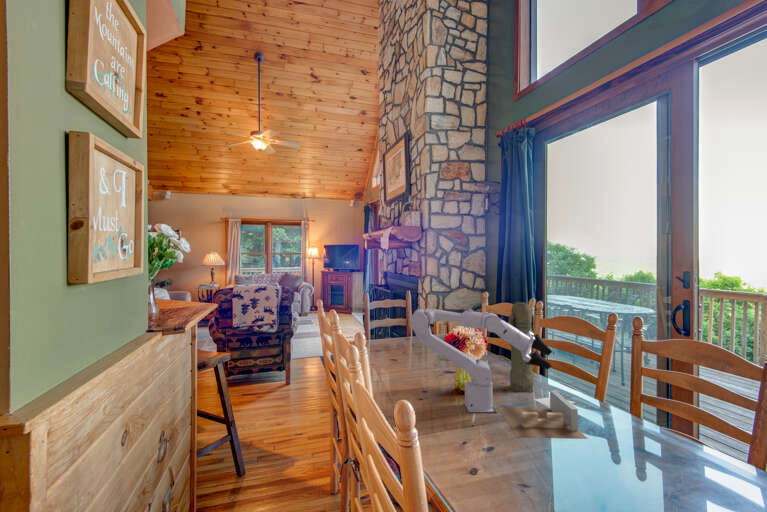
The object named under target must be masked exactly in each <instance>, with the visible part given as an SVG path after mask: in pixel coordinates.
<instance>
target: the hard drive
mask: <svg viewBox="0 0 767 512" xmlns="http://www.w3.org/2000/svg"><path fill="white" fill-rule="evenodd" d="M566 400H567V399H566ZM533 401H535V402H538V403H540V404H541V405H543V406H545V407H547V408H548V409H550V397H541V398H536V399H534V398H533ZM567 401H568V402H570V403H571V404H572V405H573V404H575V403H576V402H575V401H572V400H567Z"/></svg>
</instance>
